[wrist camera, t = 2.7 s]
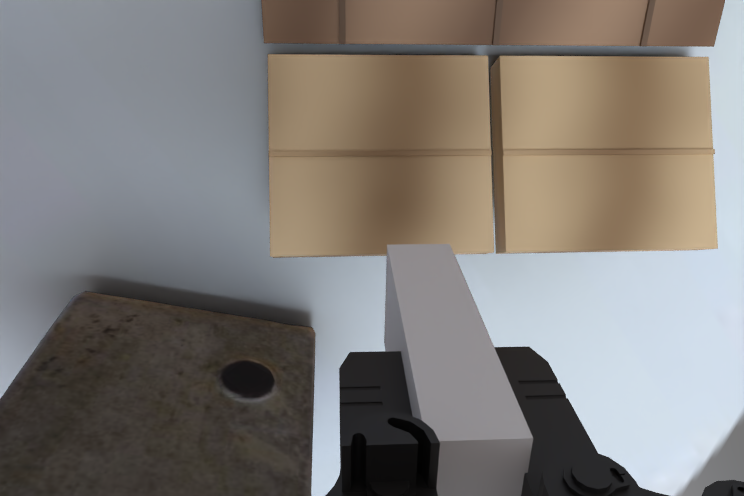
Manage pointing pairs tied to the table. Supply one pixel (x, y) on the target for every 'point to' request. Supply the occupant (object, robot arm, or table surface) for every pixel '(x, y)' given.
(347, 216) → the oak plank
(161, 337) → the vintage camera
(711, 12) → the walnut row
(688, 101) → the oak plank
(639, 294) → the table surface
